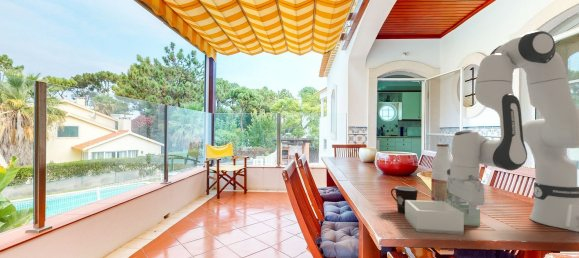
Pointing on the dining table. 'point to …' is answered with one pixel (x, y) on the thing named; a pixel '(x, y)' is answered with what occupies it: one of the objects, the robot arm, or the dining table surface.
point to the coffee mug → (404, 196)
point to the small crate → (469, 218)
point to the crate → (434, 217)
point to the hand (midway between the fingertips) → (464, 210)
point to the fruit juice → (440, 173)
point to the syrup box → (451, 199)
